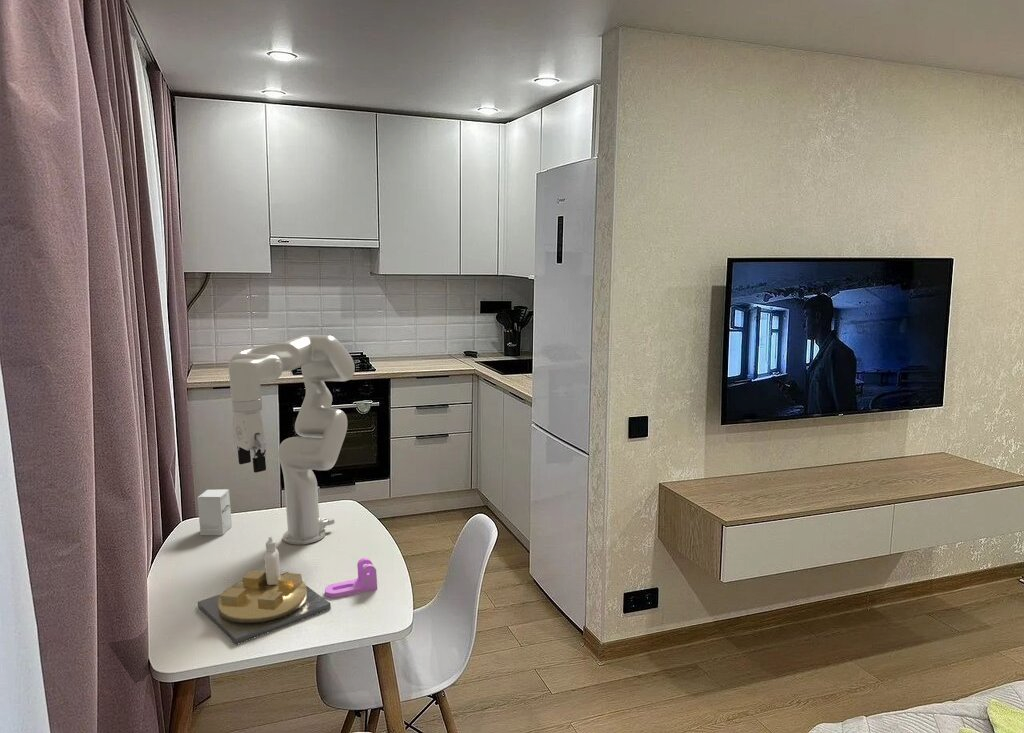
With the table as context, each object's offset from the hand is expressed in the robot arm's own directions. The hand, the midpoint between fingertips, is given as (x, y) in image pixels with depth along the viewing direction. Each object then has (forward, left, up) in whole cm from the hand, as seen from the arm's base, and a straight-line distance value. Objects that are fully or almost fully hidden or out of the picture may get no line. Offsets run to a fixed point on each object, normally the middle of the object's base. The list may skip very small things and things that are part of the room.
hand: (252, 467), depth 203 cm
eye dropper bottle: (+3, +15, -27) cm, 31 cm away
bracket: (-13, +26, -31) cm, 42 cm away
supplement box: (-2, -38, -31) cm, 49 cm away
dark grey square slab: (+8, +20, -30) cm, 37 cm away
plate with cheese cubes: (+8, +20, -28) cm, 36 cm away
